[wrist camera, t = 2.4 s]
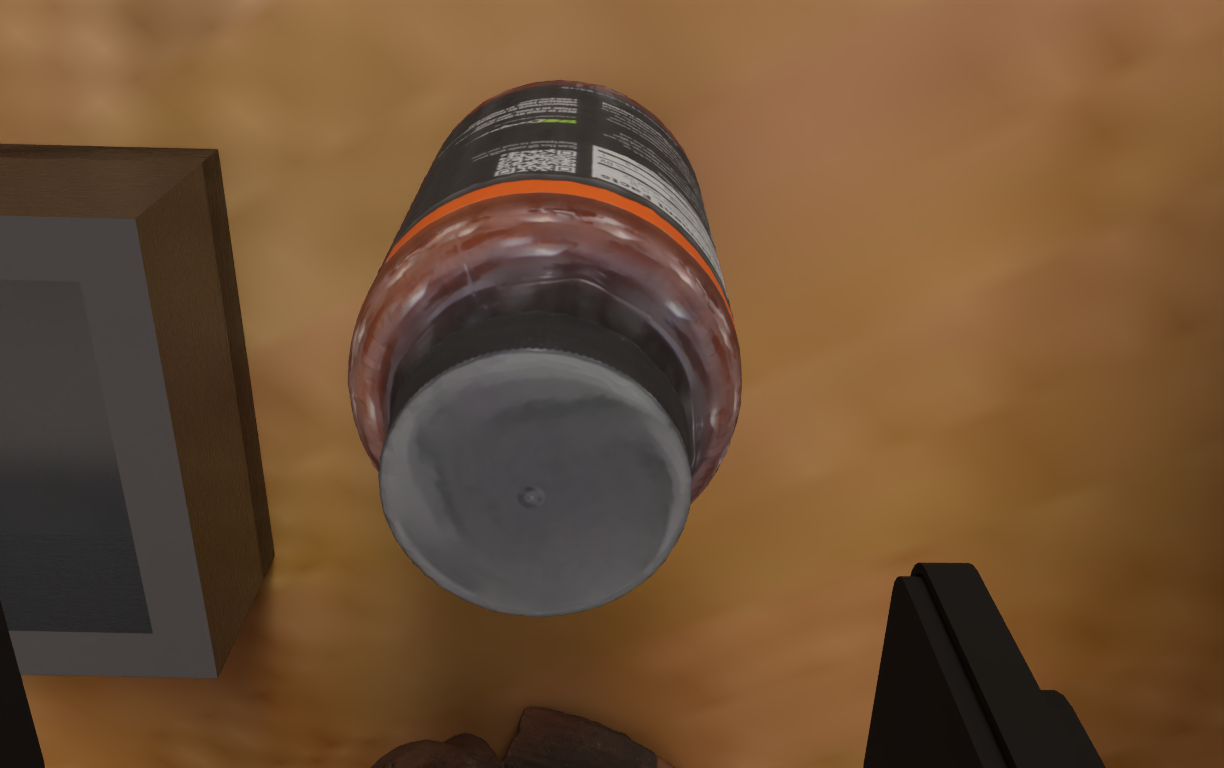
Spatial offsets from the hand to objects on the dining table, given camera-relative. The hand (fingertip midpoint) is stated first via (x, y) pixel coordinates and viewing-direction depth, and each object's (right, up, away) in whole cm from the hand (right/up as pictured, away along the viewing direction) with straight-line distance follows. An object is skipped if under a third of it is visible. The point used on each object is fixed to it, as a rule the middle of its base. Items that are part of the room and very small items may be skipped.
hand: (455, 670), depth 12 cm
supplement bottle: (+1, +7, +12) cm, 14 cm away
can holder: (-12, +3, +14) cm, 19 cm away
